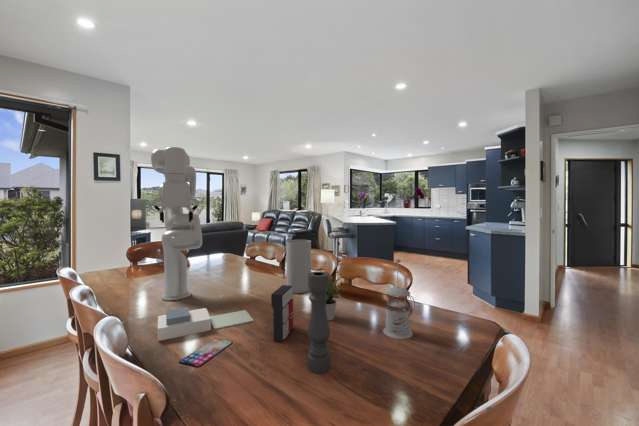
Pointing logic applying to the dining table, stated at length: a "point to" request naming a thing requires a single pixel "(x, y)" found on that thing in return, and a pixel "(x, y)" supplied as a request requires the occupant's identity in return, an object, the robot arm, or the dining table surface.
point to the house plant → (331, 302)
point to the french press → (398, 313)
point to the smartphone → (205, 353)
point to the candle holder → (318, 324)
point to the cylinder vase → (298, 264)
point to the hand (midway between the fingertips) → (176, 222)
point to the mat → (230, 319)
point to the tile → (177, 316)
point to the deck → (184, 325)
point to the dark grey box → (282, 312)
